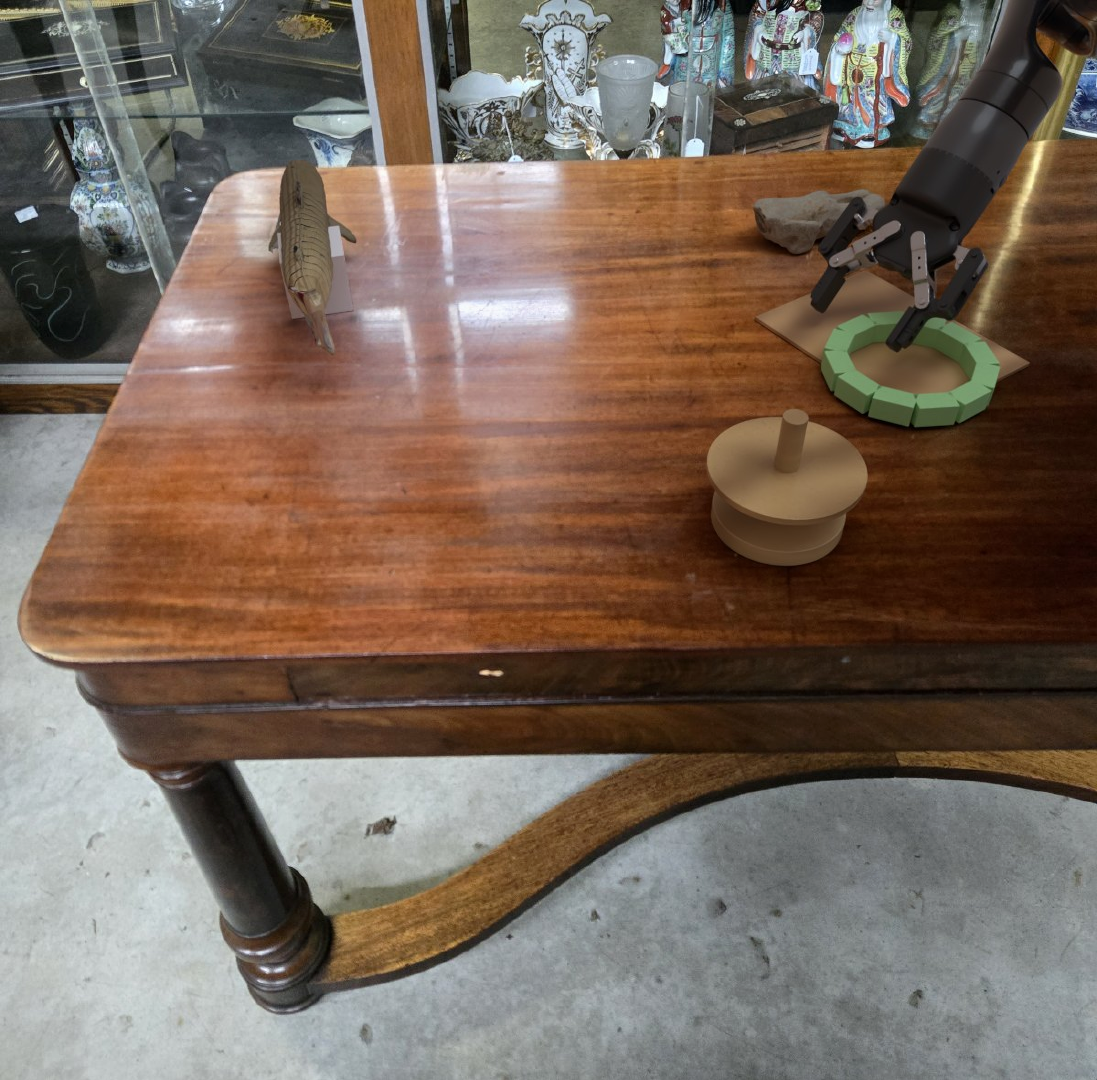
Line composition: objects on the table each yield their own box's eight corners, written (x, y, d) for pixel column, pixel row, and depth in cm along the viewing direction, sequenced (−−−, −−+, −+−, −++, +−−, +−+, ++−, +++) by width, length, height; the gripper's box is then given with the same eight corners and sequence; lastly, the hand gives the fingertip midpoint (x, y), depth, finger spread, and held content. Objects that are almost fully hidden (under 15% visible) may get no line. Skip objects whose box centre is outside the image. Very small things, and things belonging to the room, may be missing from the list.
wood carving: (284, 423, 90) (256, 311, 82) (270, 231, 114) (248, 131, 106) (387, 408, 91) (369, 296, 83) (352, 221, 115) (336, 121, 107)
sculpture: (845, 211, 117) (733, 230, 112) (858, 171, 113) (742, 188, 108) (885, 242, 112) (769, 264, 107) (899, 201, 109) (780, 221, 104)
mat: (1028, 366, 94) (1030, 362, 93) (913, 425, 88) (914, 421, 88) (865, 273, 106) (865, 269, 105) (754, 319, 100) (754, 316, 100)
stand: (885, 532, 79) (916, 428, 72) (771, 597, 74) (792, 493, 67) (780, 452, 86) (798, 350, 79) (670, 507, 81) (679, 404, 74)
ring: (1027, 386, 91) (1034, 367, 89) (913, 448, 85) (919, 429, 84) (899, 313, 100) (904, 294, 98) (788, 364, 94) (791, 346, 92)
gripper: (881, 122, 92) (777, 281, 95) (1024, 176, 84) (906, 348, 87) (904, 163, 98) (806, 311, 101) (1040, 216, 90) (929, 376, 93)
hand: (852, 328), depth 94 cm, fingers open, 8 cm apart
